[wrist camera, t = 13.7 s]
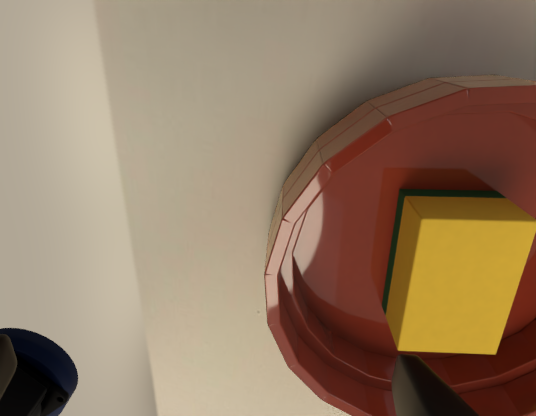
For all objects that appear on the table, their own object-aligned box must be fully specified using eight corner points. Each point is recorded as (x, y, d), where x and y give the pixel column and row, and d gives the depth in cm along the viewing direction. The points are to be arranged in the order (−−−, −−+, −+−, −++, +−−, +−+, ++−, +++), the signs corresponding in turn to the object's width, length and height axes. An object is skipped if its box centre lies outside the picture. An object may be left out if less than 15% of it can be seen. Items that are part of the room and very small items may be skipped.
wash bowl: (379, 404, 25) (397, 475, 21) (204, 218, 20) (183, 264, 16) (659, 272, 20) (755, 332, 16) (517, -18, 15) (603, -40, 11)
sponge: (465, 308, 21) (496, 355, 18) (381, 305, 21) (397, 351, 18) (496, 190, 18) (540, 221, 15) (399, 188, 18) (421, 218, 15)
